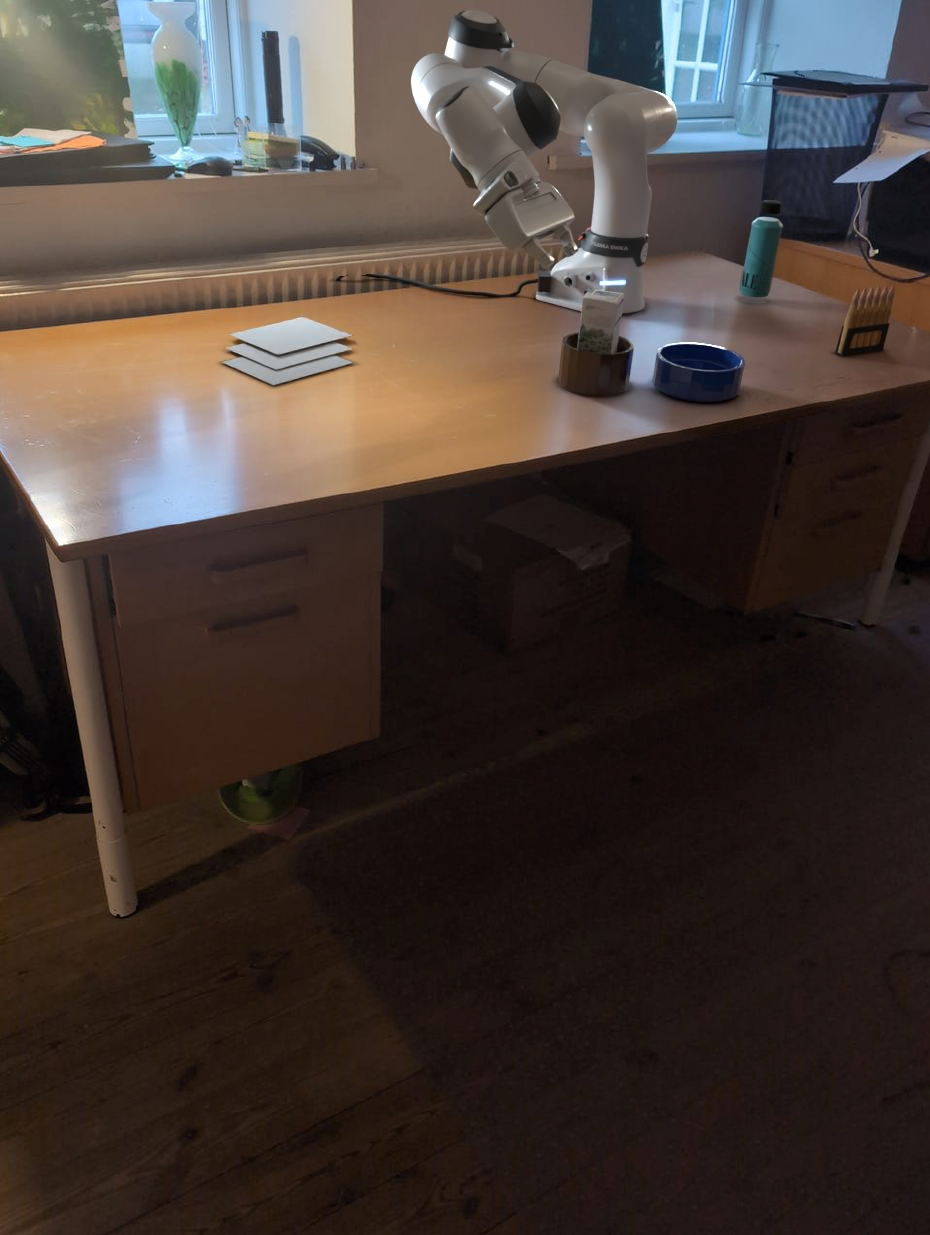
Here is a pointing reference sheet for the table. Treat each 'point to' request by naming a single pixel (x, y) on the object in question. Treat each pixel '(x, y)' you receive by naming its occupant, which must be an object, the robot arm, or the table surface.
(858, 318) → the ammunition clip
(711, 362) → the bowl
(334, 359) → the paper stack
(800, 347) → the table surface
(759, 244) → the beverage bottle
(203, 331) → the table surface
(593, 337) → the syrup box
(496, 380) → the table surface
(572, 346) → the cup
